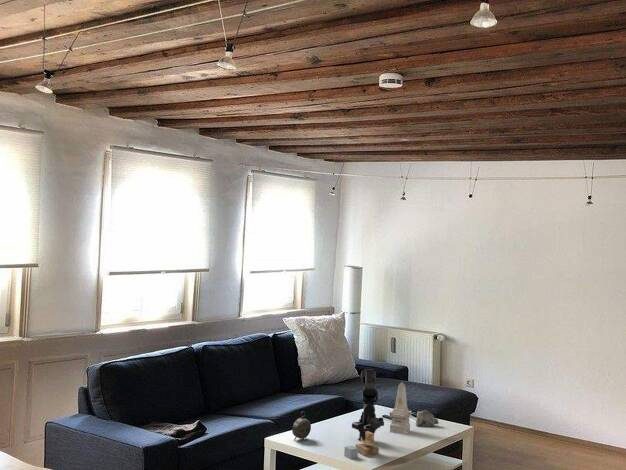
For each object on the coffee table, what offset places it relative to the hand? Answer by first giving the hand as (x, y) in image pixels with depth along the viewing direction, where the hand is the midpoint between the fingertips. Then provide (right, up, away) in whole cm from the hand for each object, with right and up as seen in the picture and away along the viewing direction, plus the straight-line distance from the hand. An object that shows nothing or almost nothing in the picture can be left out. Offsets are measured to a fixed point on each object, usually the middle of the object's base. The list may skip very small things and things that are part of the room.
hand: (367, 440), depth 362 cm
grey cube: (-9, -7, -8) cm, 14 cm away
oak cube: (0, -1, 0) cm, 1 cm away
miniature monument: (+23, -8, +44) cm, 50 cm away
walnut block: (0, -7, 0) cm, 7 cm away
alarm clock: (-36, -5, +17) cm, 40 cm away
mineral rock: (+41, -9, +58) cm, 72 cm away
